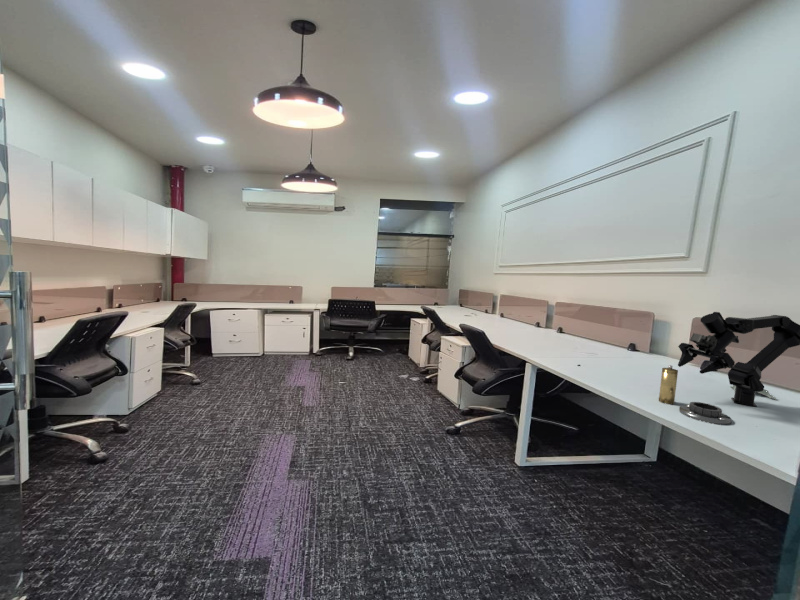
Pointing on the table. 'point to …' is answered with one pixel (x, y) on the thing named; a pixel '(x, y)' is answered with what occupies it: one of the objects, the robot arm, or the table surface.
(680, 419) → the table surface
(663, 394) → the brass pepper mill
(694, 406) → the grey flange
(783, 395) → the table surface
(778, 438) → the table surface
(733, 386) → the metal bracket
